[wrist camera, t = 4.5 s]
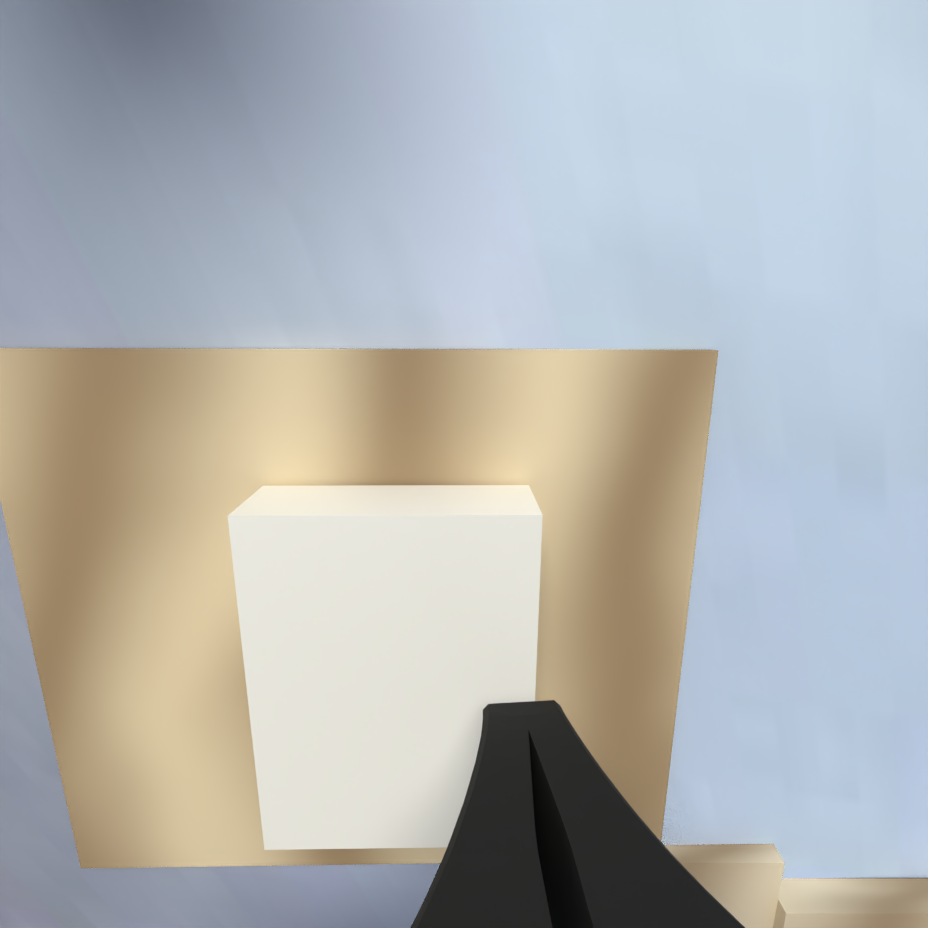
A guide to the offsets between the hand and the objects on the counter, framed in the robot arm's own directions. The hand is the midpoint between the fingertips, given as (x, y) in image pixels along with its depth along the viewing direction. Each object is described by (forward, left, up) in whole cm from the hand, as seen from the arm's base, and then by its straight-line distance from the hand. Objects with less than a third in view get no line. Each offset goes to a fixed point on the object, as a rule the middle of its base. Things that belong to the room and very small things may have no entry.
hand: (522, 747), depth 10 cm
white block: (0, 0, -2) cm, 2 cm away
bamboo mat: (+3, 0, -4) cm, 5 cm away
